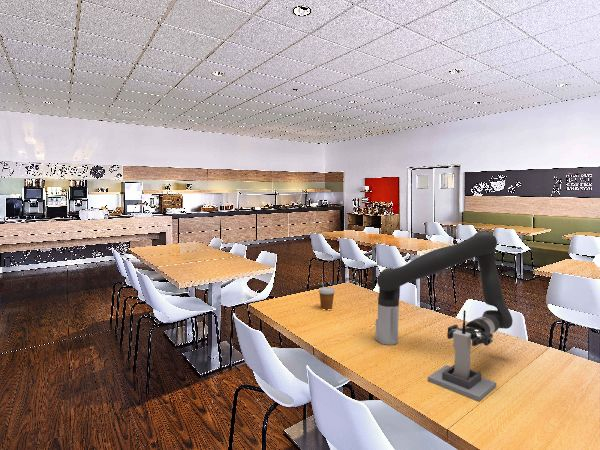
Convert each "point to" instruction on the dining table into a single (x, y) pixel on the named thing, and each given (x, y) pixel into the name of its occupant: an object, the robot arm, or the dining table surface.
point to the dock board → (463, 383)
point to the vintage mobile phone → (462, 352)
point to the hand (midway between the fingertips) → (460, 339)
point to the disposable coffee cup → (326, 297)
